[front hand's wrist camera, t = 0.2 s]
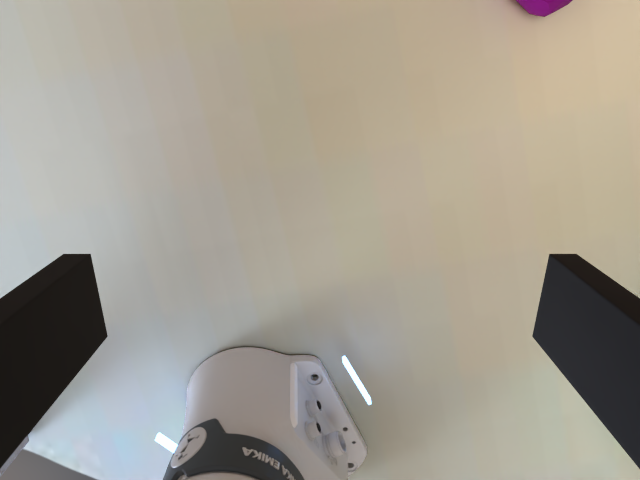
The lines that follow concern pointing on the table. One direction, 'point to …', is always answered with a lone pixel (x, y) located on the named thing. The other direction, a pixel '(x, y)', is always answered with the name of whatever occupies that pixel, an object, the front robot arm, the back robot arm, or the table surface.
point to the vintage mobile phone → (14, 455)
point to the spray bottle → (542, 6)
